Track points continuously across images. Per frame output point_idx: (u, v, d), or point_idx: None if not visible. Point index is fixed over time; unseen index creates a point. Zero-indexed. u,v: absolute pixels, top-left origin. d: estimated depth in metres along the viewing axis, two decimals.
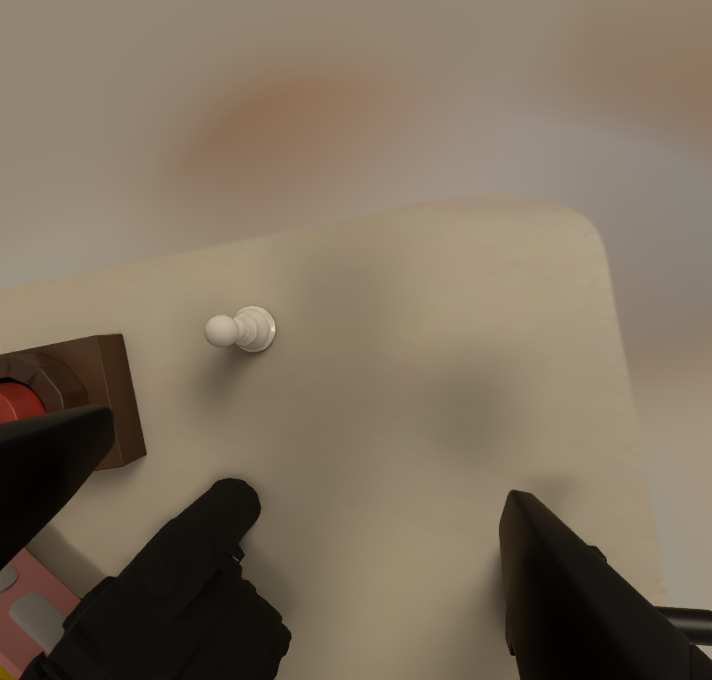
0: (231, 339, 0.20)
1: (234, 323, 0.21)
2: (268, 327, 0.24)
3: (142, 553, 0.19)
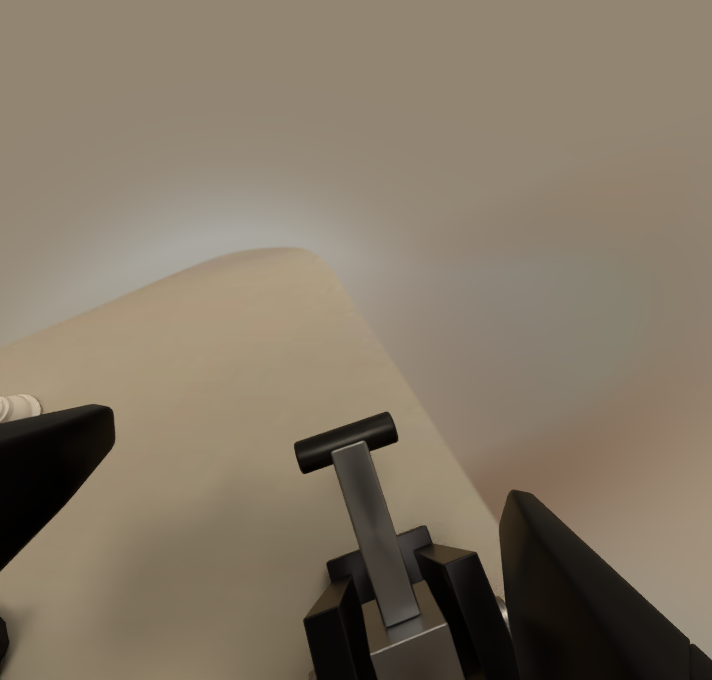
0: None
1: None
2: (28, 407, 0.23)
3: None
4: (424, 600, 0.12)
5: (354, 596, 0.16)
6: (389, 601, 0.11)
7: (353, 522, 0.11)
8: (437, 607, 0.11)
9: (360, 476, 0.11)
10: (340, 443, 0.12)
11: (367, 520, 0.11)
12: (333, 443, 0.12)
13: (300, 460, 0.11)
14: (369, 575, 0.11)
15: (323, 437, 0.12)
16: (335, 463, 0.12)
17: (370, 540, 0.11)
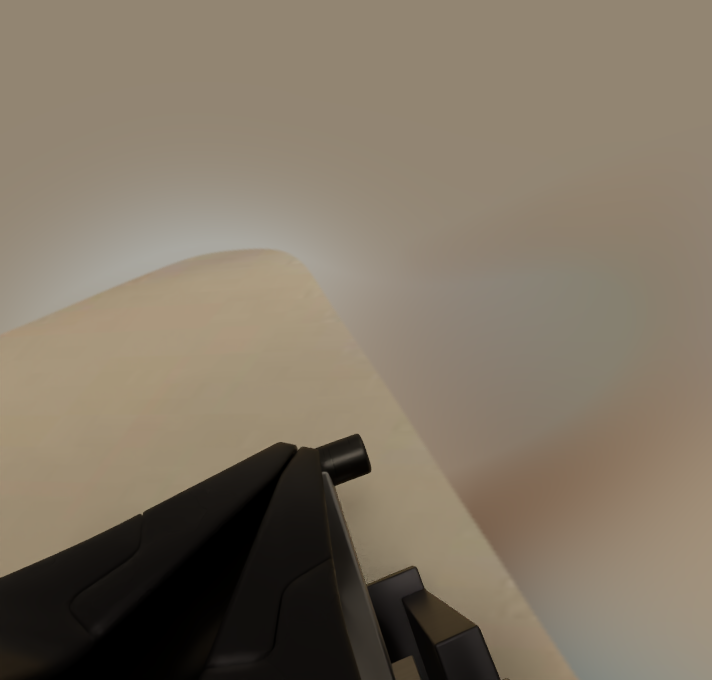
0: None
1: None
2: None
3: None
4: None
5: None
6: None
7: None
8: None
9: None
10: None
11: None
12: None
13: None
14: None
15: None
16: None
17: None
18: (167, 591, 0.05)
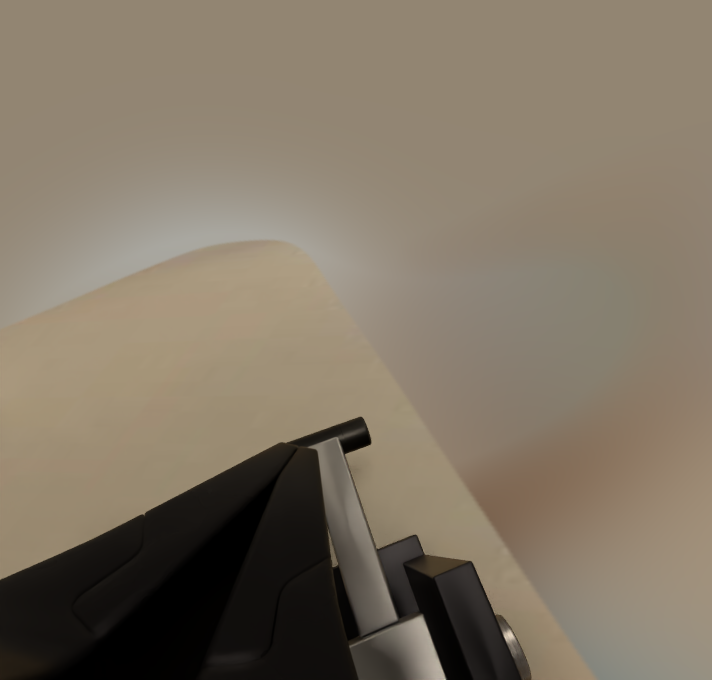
0: None
1: None
2: None
3: None
4: (408, 616, 0.10)
5: None
6: (364, 603, 0.10)
7: None
8: (419, 613, 0.10)
9: (333, 469, 0.12)
10: (315, 440, 0.13)
11: (339, 511, 0.11)
12: (309, 440, 0.13)
13: None
14: (341, 572, 0.11)
15: (301, 438, 0.13)
16: None
17: (343, 533, 0.11)
18: (169, 591, 0.05)
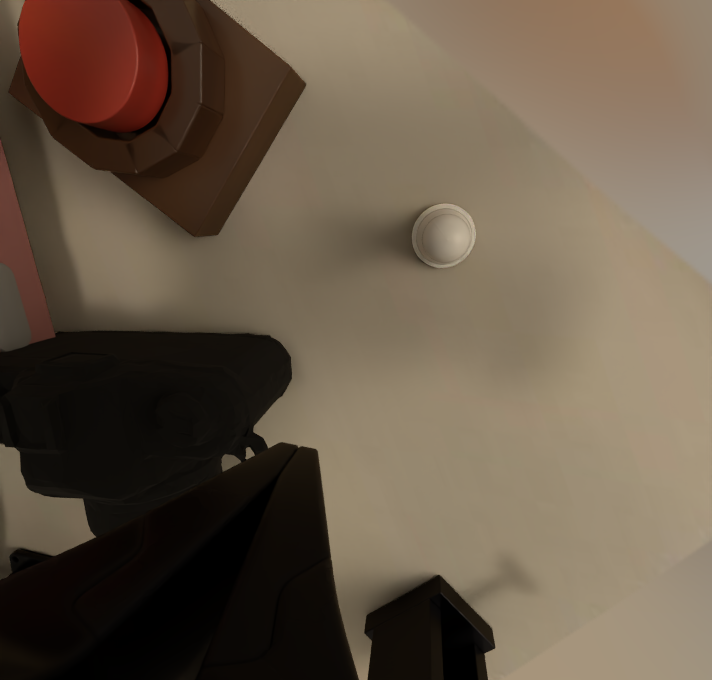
0: (449, 261, 0.14)
1: (468, 247, 0.14)
2: None
3: (174, 381, 0.14)
4: None
5: None
6: None
7: None
8: None
9: None
10: None
11: None
12: None
13: None
14: None
15: None
16: None
17: None
18: (169, 591, 0.05)
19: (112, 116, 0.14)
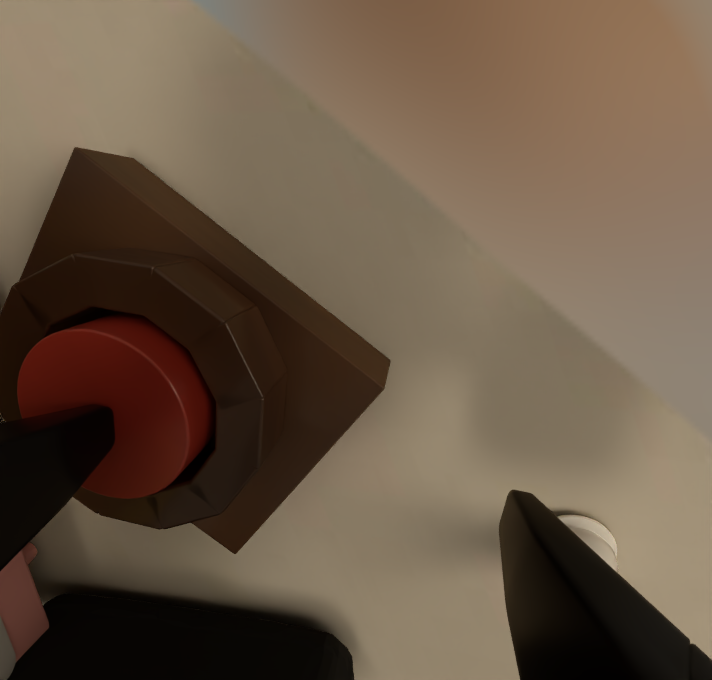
0: None
1: None
2: None
3: None
4: None
5: None
6: None
7: None
8: None
9: None
10: None
11: None
12: None
13: None
14: None
15: None
16: None
17: None
18: None
19: None
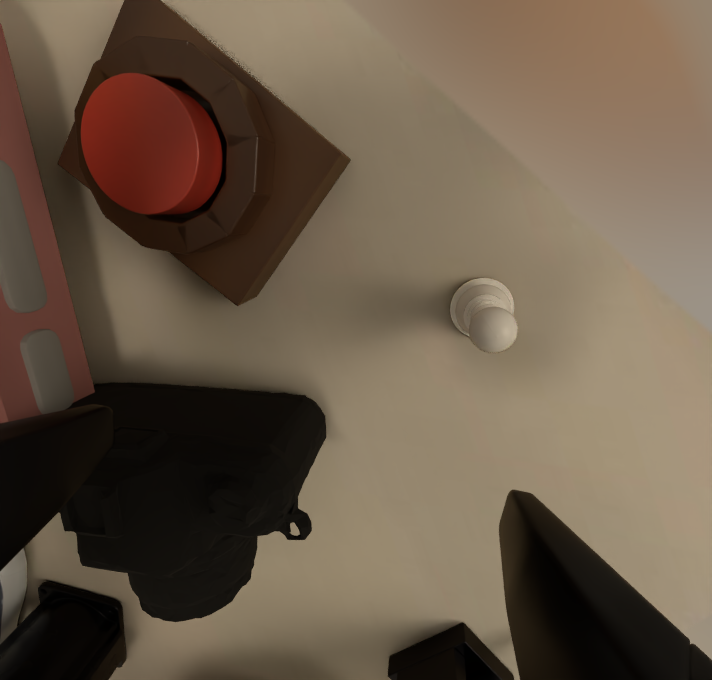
0: (495, 352, 0.15)
1: None
2: None
3: (225, 464, 0.15)
4: None
5: None
6: None
7: None
8: None
9: None
10: None
11: None
12: None
13: None
14: None
15: None
16: None
17: None
18: None
19: (170, 209, 0.14)
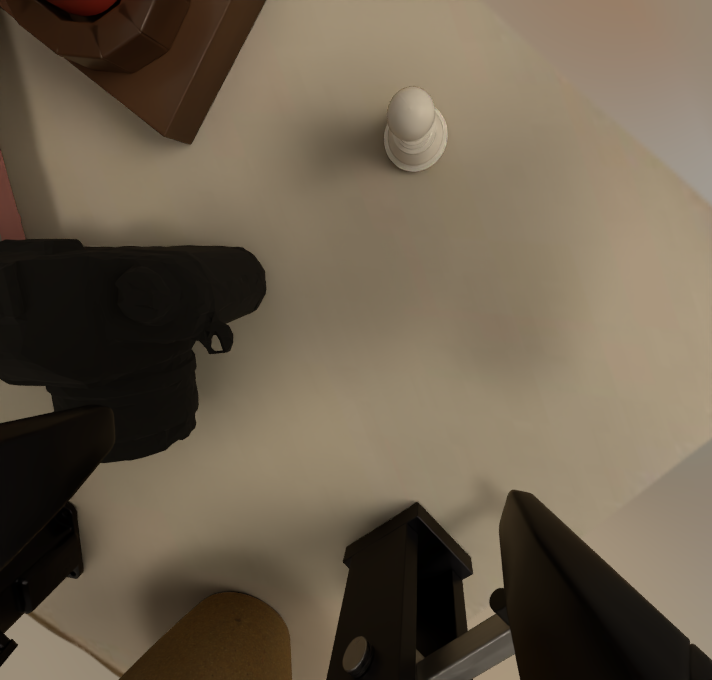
0: (413, 136, 0.14)
1: (432, 122, 0.14)
2: (434, 154, 0.18)
3: (136, 258, 0.14)
4: None
5: None
6: None
7: (475, 651, 0.16)
8: None
9: (507, 648, 0.16)
10: None
11: (479, 659, 0.16)
12: None
13: (504, 611, 0.16)
14: (445, 669, 0.16)
15: None
16: (510, 631, 0.16)
17: (467, 665, 0.16)
18: None
19: None
